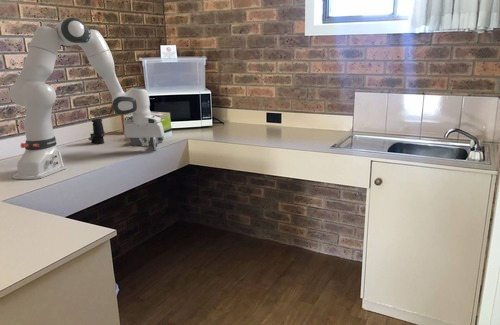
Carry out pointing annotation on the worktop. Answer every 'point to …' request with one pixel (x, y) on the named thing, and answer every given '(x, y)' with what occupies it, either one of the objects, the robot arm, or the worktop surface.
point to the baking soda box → (126, 118)
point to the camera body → (137, 142)
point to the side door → (154, 143)
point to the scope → (97, 132)
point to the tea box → (164, 123)
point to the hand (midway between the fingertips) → (145, 145)
